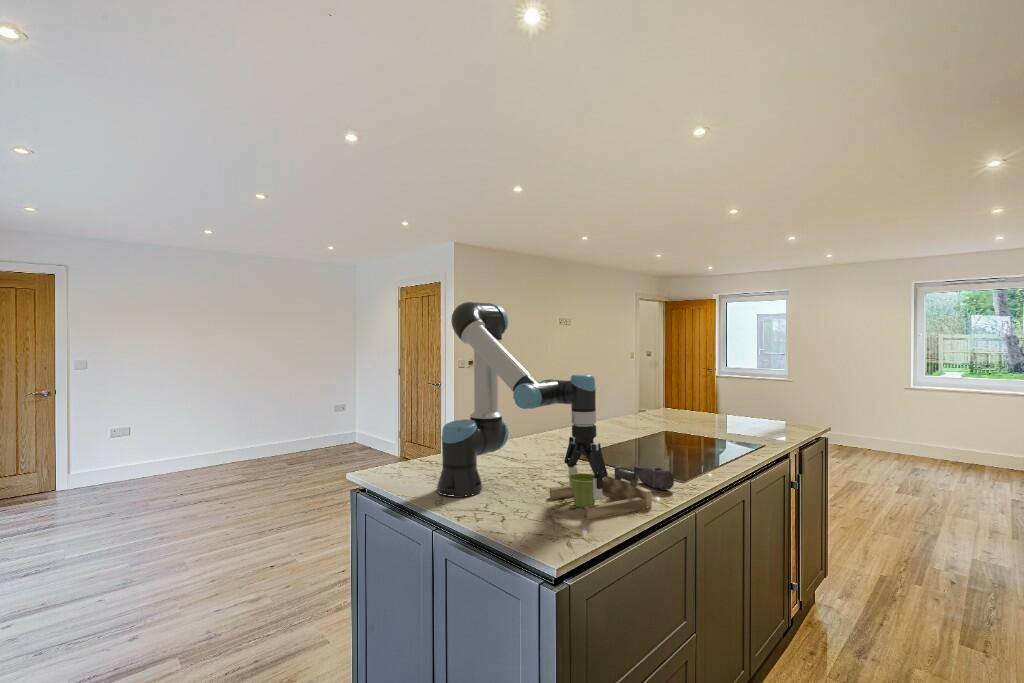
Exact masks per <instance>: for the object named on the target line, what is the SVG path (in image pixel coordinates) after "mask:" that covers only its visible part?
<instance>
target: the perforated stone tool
mask: <svg viewBox="0 0 1024 683" xmlns="http://www.w3.org/2000/svg"><path fill="white" fill-rule="evenodd" d="M641 468H643V472H640V471H638V480H639V481H640V482H641V483H642V484H644V485H647V486H648V485H649V486H648V487H650V486H651V487H650V488H653V487H654V488H653V489H659V490H661V491H666V490H667V489H668V490H671V489H672V488H673V487H674V484H675V481H674V480H675V479H674V474H673V473H672V472H671V471H669V470H667V469H664V468H659V467H655V466H654V467H653V466H643V467H641ZM665 489H666V490H665Z"/></svg>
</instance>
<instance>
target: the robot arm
mask: <svg viewBox="0 0 1024 683" xmlns="http://www.w3.org/2000/svg"><path fill="white" fill-rule="evenodd" d="M452 312H453V313H452V314H451V317H450V318H451V327H452V329H453V331H454V334H456V336H457V337H458V338H459V339H460V341H461V342H462V343H463V344H468V345H469V346H470V347H471V348H472V349H473V363H474V364H473V365H474V366H473V377H474V378H473V381H474V382H473V384H474V385H473V387H474V388H473V390H474V391H473V394H474V396H473V399H474V405H473V407H474V410H473V412H472V413H471V414H470V416H469V419H466V418H465V419H460V420H457V419H455V420H453V421H450V422H447V423H446V424H444V426H443V428H442V432H441V433H442V435H441V445H442V446H441V447H442V449H441V450H442V451H441V454H442V457H441V458H442V468H441V472H440V476H439V478H438V482H437V490H438V491H439V492H440V493H442V494H446V495H454V496H465V495H472V494H476V493H478V494H480V493H481V492H482V491H483V482H482V480H481V476H480V474H479V469H478V467H477V466H478V464H477V463H478V461H477V459H478V458H477V457H478V456H481V455H485V454H489V453H493V452H496V451H497V450H498V451H499V450H500V449H502V448H503V447H504V446H505V445H506V444H507V442H508V439H509V434H510V433H509V428H508V425H507V424H506V422H505V420H503V414H502V413H501V412H500V411H499V382H498V381H499V378H500V380H502V381H503V382H504V383H505V384H506V386H507V387H508V388H509V389H510V390H511V391H512V392H513V393H512V394H513V395H512V396H513V399H514V403H515V405H516V406H517V407H519V408H521V409H523V410H529V409H530V410H532V409H536V408H539V407H540V408H541V407H544V406H551V405H557V404H559V405H560V404H561V405H571V407H570V408H571V424H572V425H571V436H569V437H568V447H567V449H566V454H565V458H564V462H563V463H564V464H566V465H567V467H568V477H569V476H570V475H572V474H578V464H577V463H578V461H579V460H580V457H581V456H584V457H585V459H587V461H588V463H589V466H590V468H591V470H592V473H593V475H595V476H594V477H593V494H594V500H595V501H598V500H602V499H603V491H602V489H603V477H606V476H608V474H609V473H608V470H607V466H606V464H605V460H604V457H603V453H602V448H601V443H600V442H596V443H595V442H594V439H595V438H596V437H597V426H596V423H597V416H596V415H597V411H596V409H597V408H596V394H597V393H596V391H597V387H596V378H595V376H594V375H592V374H588V373H586V374H580V373H579V374H578V373H576V374H572V375H571V376H570V380H562V379H561V380H560V379H542V380H541V381H537V380H536V379H535V378H534V377H533V376H532V375H531V374H530V373H529V372H528V370H526V369H525V368H524V367H523V366H522V365H521V364H520V363H519V361H517V360H516V358H515V357H513V355H512V354H511V353H510V352H509V351H508V350H507V349H506V348H505V347H504V345H502V344H501V342H502V341H503V337H502V336H503V334H505V333H506V331H507V330H508V326H509V318H508V315H507V312H506V311H505V309H504V308H502V306H500V305H498V304H494V303H490V302H473V301H466V302H463V303H461V304H458V306H457V307H456V308H455V309H454V310H453V311H452ZM607 473H608V474H607ZM568 485H569V488H572V484H571V480H570V479H569V478H568ZM481 490H482V491H481ZM438 491H437V492H438ZM480 491H481V492H480ZM479 492H480V493H479ZM476 495H477V494H476ZM472 496H473V495H472Z"/></svg>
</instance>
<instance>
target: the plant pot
mask: <svg viewBox="0 0 1024 683" xmlns="http://www.w3.org/2000/svg"><path fill="white" fill-rule="evenodd" d="M594 476H595V475H594V473H593V474H592V473H583V472H581V473H578V472H577V474H572V475H570V476H569V475H568V480H569V479H570V480H571V484H572V489H573V496H572V497H573V504H574V505H575V507H578V508H582V509H583V508H584V507H588V506H594V505H596V504H595V502H596V500H594V494H593V477H594Z"/></svg>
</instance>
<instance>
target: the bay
mask: <svg viewBox="0 0 1024 683" xmlns="http://www.w3.org/2000/svg"><path fill="white" fill-rule="evenodd" d="M633 468H634V469H633V471H632V472H631V471H629V470H625V469H623V468H622V466H621V465H617V466H614V475H613V474H611V473H608V472H607V474H608V476H606V477H603V489H602V492H604V491H603V490H605V491H607V490H608V492H610V493H612V494H613V495H616V494H617V495H616V496H618V495H619V497H621V498H623V497H624V498H623V499H622V500H617V501H611V502H606V503H605V502H604V503H600V504H594V506H588V507H583V508H584V518H585V519H586V518H587V519H586V520H588V519H590V520H595V519H599V518H605V517H610V516H609V515H611V516H615V514H616V515H620V513H621V514H624V512H626V513H630V512H629V511H631V512H634V511H633V510H636V511H639V510H638V509H641V510H644V509H643V508H646V509H648V508H647V507H651V508H653V507H652V506H653V504H652V499H653V498H652V497H653V496H652V492H653V491H652V490H650V489H648V488H645V487H642V486H641V485H639V484H638V481H639V477H638V471H640V472H643V468H642V467H641V466H637V465H636V466H635V465H634V467H633ZM569 497H573V489H572V488H569V484H568V485H562V486H556V487H555V486H554V487H550V488H549V498H551V499H552V500H557V499H562V498H569ZM625 498H626V499H625ZM604 516H605V517H604ZM594 518H595V519H594Z"/></svg>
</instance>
